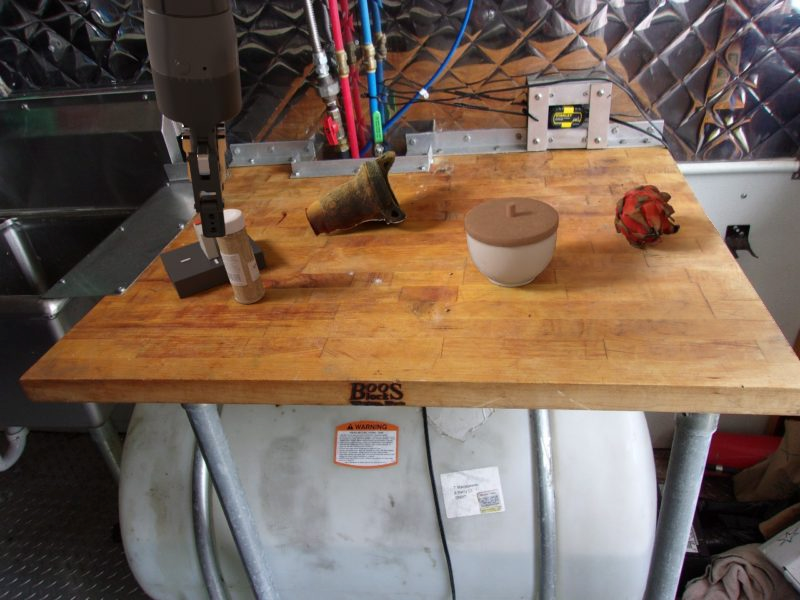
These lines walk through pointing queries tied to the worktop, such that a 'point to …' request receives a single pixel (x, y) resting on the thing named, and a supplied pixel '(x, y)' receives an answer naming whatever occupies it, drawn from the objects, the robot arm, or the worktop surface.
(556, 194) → the worktop surface
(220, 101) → the robot arm
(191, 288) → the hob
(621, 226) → the dragon fruit
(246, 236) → the sprinkles bottle
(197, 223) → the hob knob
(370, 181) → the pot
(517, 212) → the lidded bowl
